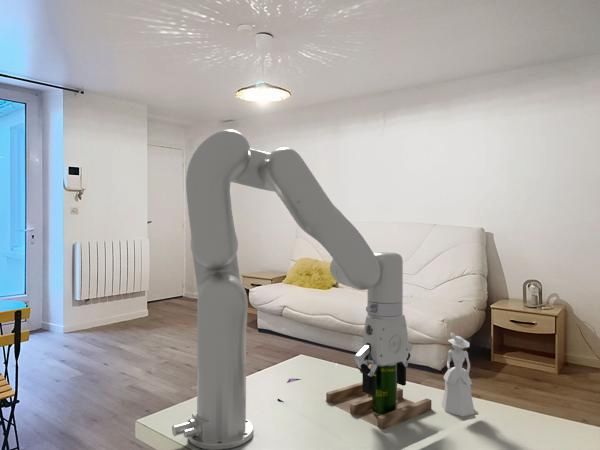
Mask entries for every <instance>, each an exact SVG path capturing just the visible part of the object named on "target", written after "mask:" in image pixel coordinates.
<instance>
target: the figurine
mask: <svg viewBox="0 0 600 450" xmlns="http://www.w3.org/2000/svg"><path fill="white" fill-rule="evenodd" d="M447 342H449V343H450V344H451V346H452V347H453V349H449V350H448V351H447V357H446V358H447V359H446V368H447V371H446V372H445V374H444V375H443V380H444V391H443V392H444V393H443V397H442V401H441V404H440V405H441V407H442V409H443V411H444V412H445V413H447V414H453V415H455V416H456V415H457V416H460V417H464V416H465V417H466V416H470V415H472V416H470V417H467V418H466V419H464V420H463V422H464V421H467V420H473V419H476V413H475V408H474V407H475V406H474V402H473V396H472V395H473V393H472V387H471V386H472V384H473V382H472V380H471V378H470V370H471V361H470V358H469V353H468V351H467V350H463V349H465V348H470V342H469V341H467V340H466V339H465V338H464V337H462V336H459V335H456V334H455V333H454V332H450V339H448V340H447ZM451 359H452V362H453V365H454V366H453V367H450V366H451V365H450V363H451ZM465 360H466V363H467V367H466V369H465V368H464V367H463V364H464V362H465ZM474 414H475V415H474Z"/></svg>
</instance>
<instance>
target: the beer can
mask: <svg viewBox="0 0 600 450" xmlns="http://www.w3.org/2000/svg"><path fill="white" fill-rule="evenodd" d="M373 375H374V376H375V377H376V389H375V395H373V396H372V410H373V413H374V414H375V415H376V416H381V415H383V414H386V413H389V412H391V411H394V410H397V388H398V384H397V363H395V364H391V365H387V366H383V367H380V366H377V368H376V370H375V372H374V374H373Z"/></svg>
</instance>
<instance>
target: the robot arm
mask: <svg viewBox="0 0 600 450" xmlns="http://www.w3.org/2000/svg"><path fill="white" fill-rule="evenodd" d="M231 183H235V184H239V185H243V186H247V187H251V188H254V189H257V190H258V189H259V190H265V191H268V192H269V191H270V192H275V193H276V195H277V196H278V197H279V199H280V201H281V202H282V203H283V205H284V206H285V208H286V209H287V210H288V212H289V214H290V215H291V217H292V218H293V219H294V221H295V223H296V224H297V225H298V227H299V228H301V230H303V231H304V233H306V234H307V235H308V236H310V237H311V238H313V239H314V240H316V241H317V242H318V243H319V244H320V245H321V246H322V247H323V248H324V249H325V250H326V251H327V252H328V254H329V255H330V257H331V258H332V259H331V262H330V265H329V266H330V267H329V270H330V271H329V272H330V273H331V276H332V278H333V280H335V281H336V282H337V283H339V284H340V285H342V286H345V287H349V288H352V289H355V290H357V291H366V290H367V300H366V301H367V306H366V308H365V311H366V312H367V313H366V314H367V315H366V316H365V320H364V321H365V322H364V327H363V340H362V348H361V349H360V350H359V351H357V353H356V354H354V356H353V359H354V362H355V364H356V368H357V369H358V370H359V373H360V374H362V382H363V387H362V390H363V392H365V393H367V394H370V395H372V396H373V395H375V389H376V377H375V376H374V375H373V374H374V372H375V370H376V368H377V366H380V367H383V366H387V365H391V364H395V363H397V385H401V386H402V387H403V386H406V385H407V367H408V366H409V363H408V362H409V360H410V358H411V352H412V350H413V344H412V343H411V342H409V339H408V338H409V336H408V327H407V320H406V316H405V314H403V311H404V310H403V305H404V304H403V295H404V294H403V293H404V291H403V290H404V288H403V287H404V286H403V285H404V283H403V281H404V280H403V279H404V278H403V277H404V275H403V271H404V270H403V268H404V267H403V264H404V263H403V262H404V261H403V257H402V255H401V254H399V253H397V252H388V251H387V252H373V250H372V249H371V247H370V245H369V244H368V242H367V241H366V239H365V238H364V236H363V235H362V234H361V232H360V231H359V230H358V229H357V228H356V227H355V226H354V224H353V223H352V222H351V221H350V220H348V218H346V216H345V215H344V214H343V213H342V212H341V210H339V209H338V208H337V206H335V204H334V203H332V201H331V199H330V198H329V196H328V195H327V193H326V192H325V191H324V189H323V188H322V186H321V184H320V183H319V182H318V180H317V179H316V177H315V175H314V173H313V172H312V171H311V170H310V168H309V166H308V165H307V163H306V162H305V161H304V159H303V158H302V156H301V155H300V154H299V153H298V151H296V150H295V149H294V148H293V149H292V148H291V147H279V148H276V149H275V150H273V151H271V152H266V151H261V150H259V149H257V150H256V149H253V148H251V146H250V144H249V141H248V140H247V137H245V135H244V134H242V132H239V131H237V130H234V129H224V130H220V131H216V132H215V133H213V134H212V135H210V136H208V137H207V138H206V139H204V140H203V142H201V143H200V145H198V147H197V148H196V150H195V151H194V152H193V154H192V157H191V158H190V160H189V163H188V166H187V171H186V178H185V193H186V203H187V213H188V214H187V215H188V221H189V228H190V250H191V253H192V260H193V261H192V263H193V269H194V275H195V281H196V288H197V305H196V306H197V307H196V311H197V312H196V314H197V319H196V320H197V322H196V324H197V326H196V327H197V328H196V329H197V330H196V331H197V335H196V336H197V340H196V341H197V343H196V344H197V348H196V352H197V353H196V354H197V355H196V356H197V361H196V362H197V366H196V367H197V371H196V372H197V373H196V375H197V376H196V377H197V379H196V380H197V381H196V382H197V383H196V412H192V413H191V418H189V419H188V420H187V421H185V422H179V423H176V424H173V425H171V432H172V435H173V437H176V436H179V435H183V437H184V439H186V438H188V441H189V442H190V443H191V444H192V445H193V446H195V447H196V448H200V449H204V450H229V449H233V448H237V447H240V446H241V445H243V444H245V443H247V442H248V441H250V440H251V439H252V437H253V435H254V425H253V423H252V422H251V421H250V420H249V419H247V417H246V416H247V415H246V413H247V408H246V407H247V402H246V401H247V400H246V399H247V395H246V394H247V325H248V324H247V323H248V310H249V309H248V308H249V306H248V305H249V304H248V302H249V301H248V295H247V291H246V288H245V286H244V285H243V283H242V282H241V275H240V269H239V260H238V256H237V255H238V254H237V252H238V248H239V241H238V237H237V233H236V229H235V223H234V217H233V211H232V208H233V207H232V199H231ZM369 364H371V367H370V369H369V368H368V366H369Z"/></svg>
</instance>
